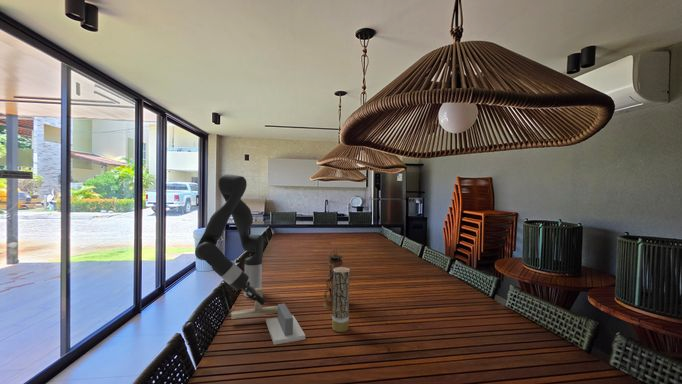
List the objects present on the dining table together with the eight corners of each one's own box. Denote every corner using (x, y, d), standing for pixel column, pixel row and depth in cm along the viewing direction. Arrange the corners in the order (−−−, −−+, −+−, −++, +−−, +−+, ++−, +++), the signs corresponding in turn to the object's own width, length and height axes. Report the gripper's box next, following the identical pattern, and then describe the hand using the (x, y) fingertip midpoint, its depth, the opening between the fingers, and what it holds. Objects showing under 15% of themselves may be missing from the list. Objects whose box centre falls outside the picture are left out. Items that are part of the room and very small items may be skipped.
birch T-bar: (231, 316, 120) (232, 290, 121) (282, 309, 129) (283, 285, 129) (231, 319, 118) (232, 292, 118) (283, 311, 126) (284, 287, 126)
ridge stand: (266, 322, 121) (266, 303, 122) (293, 318, 126) (293, 300, 126) (273, 344, 103) (274, 323, 103) (305, 339, 108) (305, 318, 108)
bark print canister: (346, 333, 113) (348, 271, 113) (330, 331, 114) (331, 270, 115) (349, 326, 119) (350, 267, 120) (334, 324, 121) (335, 266, 121)
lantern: (345, 313, 133) (346, 250, 134) (319, 310, 136) (320, 248, 136) (350, 300, 150) (351, 244, 151) (327, 298, 152) (328, 243, 153)
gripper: (242, 274, 114) (272, 300, 119) (240, 266, 127) (267, 290, 132) (228, 288, 112) (258, 314, 117) (227, 278, 125) (255, 302, 130)
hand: (263, 301), depth 124 cm, fingers closed on birch T-bar, 3 cm apart
